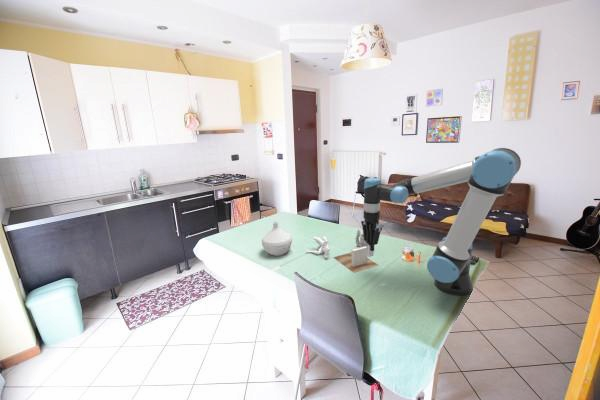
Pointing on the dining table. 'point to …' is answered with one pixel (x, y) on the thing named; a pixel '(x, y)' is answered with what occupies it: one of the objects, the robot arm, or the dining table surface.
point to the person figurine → (321, 246)
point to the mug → (362, 241)
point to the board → (347, 262)
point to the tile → (359, 256)
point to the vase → (276, 241)
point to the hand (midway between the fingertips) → (370, 255)
